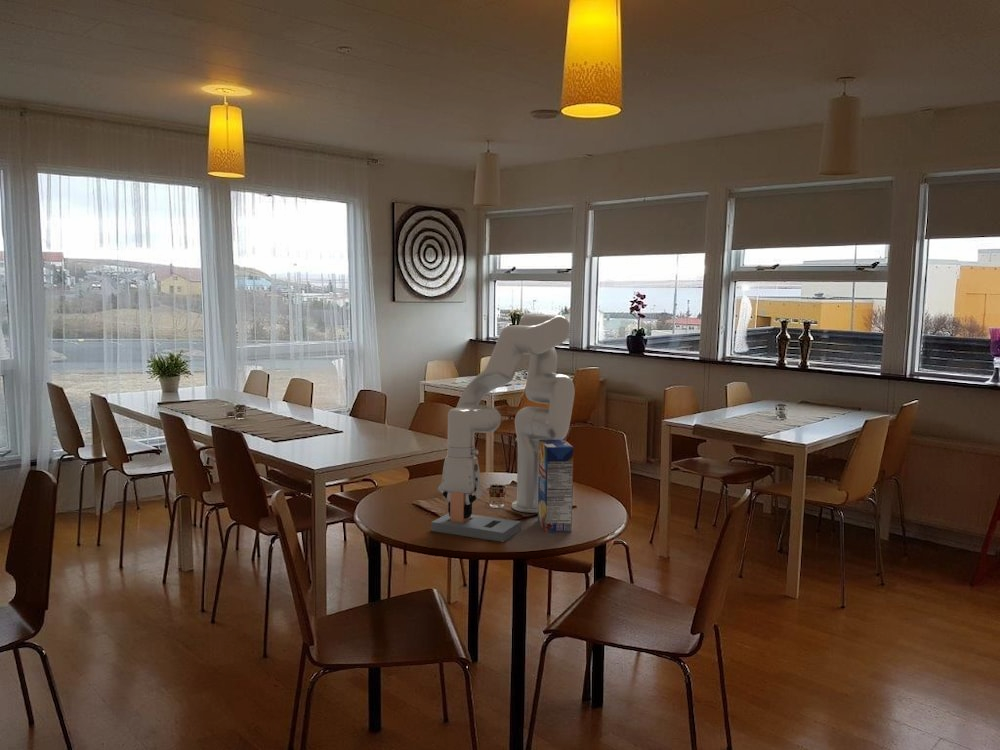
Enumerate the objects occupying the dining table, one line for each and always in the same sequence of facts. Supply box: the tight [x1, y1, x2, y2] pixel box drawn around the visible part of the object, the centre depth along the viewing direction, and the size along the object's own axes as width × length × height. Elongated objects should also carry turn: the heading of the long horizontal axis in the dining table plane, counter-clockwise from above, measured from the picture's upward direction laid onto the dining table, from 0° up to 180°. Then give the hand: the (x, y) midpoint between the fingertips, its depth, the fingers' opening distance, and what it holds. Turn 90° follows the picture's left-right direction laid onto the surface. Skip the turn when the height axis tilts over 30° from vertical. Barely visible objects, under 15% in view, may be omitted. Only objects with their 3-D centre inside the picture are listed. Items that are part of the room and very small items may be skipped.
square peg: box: [450, 491, 469, 523], centre depth 214 cm, size 4×4×9 cm
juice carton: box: [537, 439, 575, 534], centre depth 217 cm, size 12×8×24 cm, turn 7°
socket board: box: [430, 512, 522, 543], centre depth 213 cm, size 12×22×2 cm, turn 65°
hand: (459, 515), depth 215 cm, fingers closed on square peg, 4 cm apart
